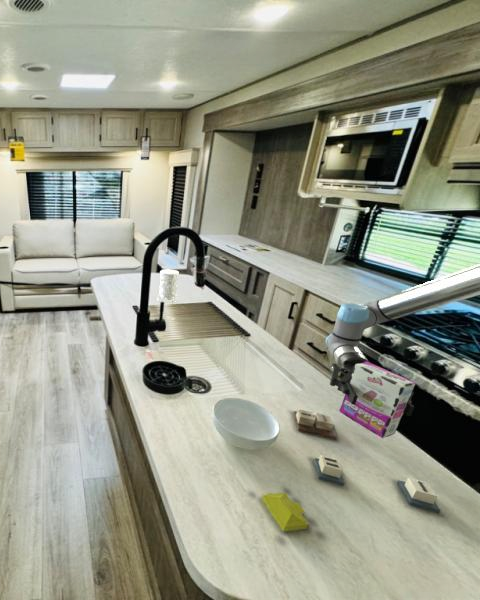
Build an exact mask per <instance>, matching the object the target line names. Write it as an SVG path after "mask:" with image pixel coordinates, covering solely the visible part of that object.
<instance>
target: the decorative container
mask: <svg viewBox="0 0 480 600" xmlns="http://www.w3.org/2000/svg"><path fill="white" fill-rule="evenodd" d="M159 274H160V276H159V278H160V282H159V284H160V285H159V292H158V293H159V295H160V297H161V298H164V299H168V300H172V299H175V297H177V290H178V289H177V287H178V280H179V277H178V276H179V275H180V271H178V270H176V269H172V268H170V269H169V268H165V269H160V271H159ZM157 301H158V302H160V301H159V299H158V298H157ZM177 301H178V299H177V300H176V301H172V303H171V304H175V303H176V302H177Z"/></svg>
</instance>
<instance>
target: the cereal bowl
mask: <svg viewBox="0 0 480 600" xmlns="http://www.w3.org/2000/svg"><path fill="white" fill-rule="evenodd" d="M211 410H212V412H211V420H212V424H213V426H214V429H215V430H216V432H217V433H218V434H219V435H220V436H221V437H222V438H223V439H224V440H225V441H226V442H228V443H230V444H232V445H233V446H235V447H237V448H240V449H243V450H247V451H261V450H266V449H268V448H270V447H271V446H273V445H274V444H275V442H276V441H277V440H278V438H279V435H280V432H281V429H280V428H281V427H280V423H279V421H278V419H277V418H276V416H275V415H274V414H273V413H272V412H270V411H269V410H268V409H267V408H266V407H264V406H262V405H260V404H259V403H257V402H254V401H251V400H248V399H244V398H240V397H226V398H221V399H219V400H217V401H216V402H214V405H213V406H212V409H211Z"/></svg>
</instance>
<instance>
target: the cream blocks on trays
mask: <svg viewBox="0 0 480 600" xmlns="http://www.w3.org/2000/svg"><path fill="white" fill-rule="evenodd" d="M312 461H313V465H314V468H315V471H316V474H317V478H318V480H320V481H324V482H327V483H331V484H335V485H338V486H342V487H344V486H345V484H346V482H345V481H344V477H343V475H342V473H343V468H342V466H341V463H340V461H339V459H338V458H335V457H331V456H327V455H323V454H320V456H319V458H317V457H313V459H312ZM396 484H397V486H398V488H399V489H400V491H401V492H402V495H403V496H404V498H405V500H406V502H407V504H408V505H409V506H411V507H416V508H419V509H422V510H425V511H428V512H432V513H437V514H440V512H441V509H440V507H439V506H438V504H437V503H436V500H437V499H438V495H437V493H436V492H435V490H434V489H433V487H432V486H431V484H430V483H429V482H427V481H424V480H423V481H422V480H420V479H415V478H412V477H408V478H407V479H406V481H405V480H404V481H403V480H400V479H398V480H397V482H396Z"/></svg>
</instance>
